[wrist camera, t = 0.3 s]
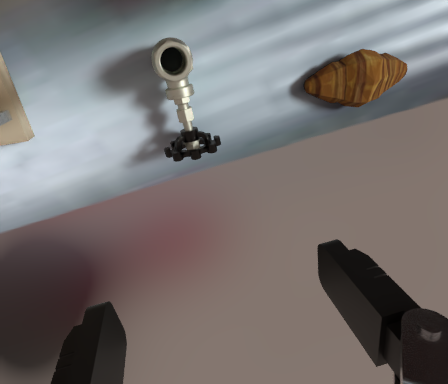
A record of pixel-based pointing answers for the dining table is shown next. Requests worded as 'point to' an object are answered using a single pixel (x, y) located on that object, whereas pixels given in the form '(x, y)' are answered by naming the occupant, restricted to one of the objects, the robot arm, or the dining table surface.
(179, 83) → the valve
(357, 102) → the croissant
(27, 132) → the valve board
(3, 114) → the pipe valve
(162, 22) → the dining table surface
